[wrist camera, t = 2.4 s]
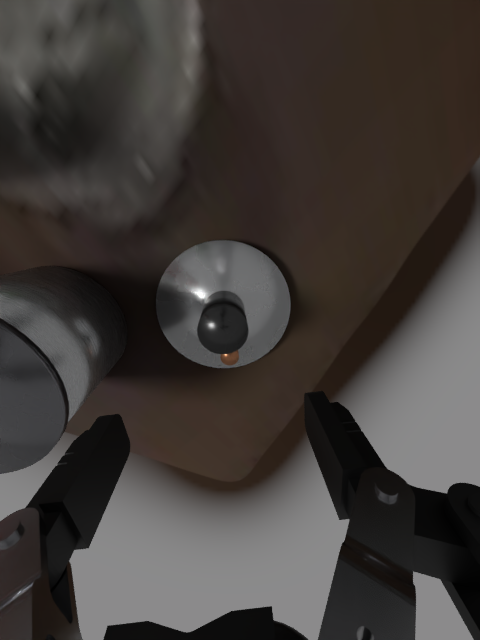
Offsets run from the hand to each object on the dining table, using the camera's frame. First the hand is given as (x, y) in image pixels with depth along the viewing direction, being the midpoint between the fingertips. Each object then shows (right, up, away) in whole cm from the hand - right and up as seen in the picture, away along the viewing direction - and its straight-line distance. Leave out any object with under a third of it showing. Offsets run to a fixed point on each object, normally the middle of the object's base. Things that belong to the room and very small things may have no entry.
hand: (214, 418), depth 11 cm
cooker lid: (-1, +6, +14) cm, 15 cm away
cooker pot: (-16, +4, +14) cm, 22 cm away
